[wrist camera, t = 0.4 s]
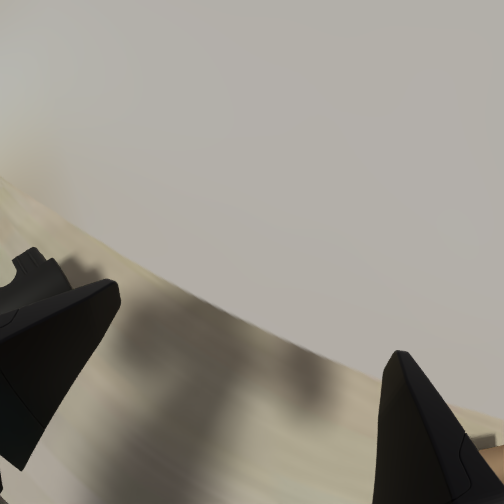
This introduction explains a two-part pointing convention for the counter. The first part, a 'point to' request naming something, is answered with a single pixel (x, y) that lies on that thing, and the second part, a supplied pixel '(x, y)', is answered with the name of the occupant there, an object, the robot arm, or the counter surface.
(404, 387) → the robot arm
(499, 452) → the base block
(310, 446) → the counter surface
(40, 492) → the counter surface
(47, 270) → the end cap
